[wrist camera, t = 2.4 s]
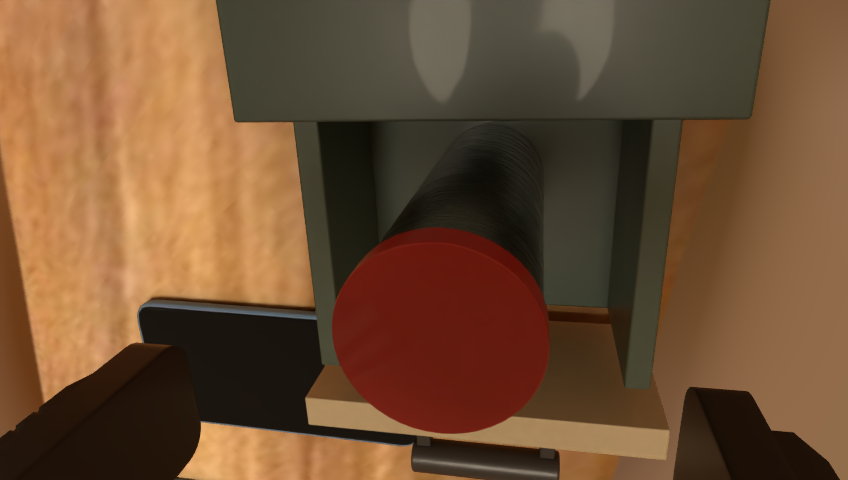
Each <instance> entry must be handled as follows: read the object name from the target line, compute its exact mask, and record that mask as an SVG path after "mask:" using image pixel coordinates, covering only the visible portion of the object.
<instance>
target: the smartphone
mask: <svg viewBox="0 0 848 480" xmlns="http://www.w3.org/2000/svg"><path fill="white" fill-rule="evenodd" d="M137 319H138V325H139V329H140V334H141V338H142V342H143V343H146V344H159V345H172V346H178V347H180V348H182V349H183V350H184V352H185V354H186V356H187V359H188V364H189V368H190V373H191V378H192V383H193V388H194V392H195V397H196V402H197V407H198V411H199V416H200V422H205V423H213V424H221V425H229V426H238V427H246V428H254V429H263V430H271V431H279V432H287V433H296V434H304V435H312V436H321V437H329V438H337V439H345V440H354V441H362V442H370V443H378V444H387V445H395V446H409V445H413V443H414V440H415V438H416V437H417V435H409V434H399V433H389V432H379V431H369V430H359V429H349V428H339V427H329V426H319V425H310V424H309V422H308V415H307V407H306V400H305V398H306V396H307V394H308V393H309V391H310V389H311V388H312V386H313V385H314V383H315V381H316V380H317V378H318V377H319V375H320V373H321V372H322V370H323V368H324V367H325V365H323V364H322V359H321V351H320V343H319V334H318V326H317V317H316V312H315V311H302V310H289V309H276V308H263V307H251V306H238V305H225V304H212V303H199V302H186V301H173V300H150V301H147V302H146V303H144V304H143V305H141V306H140V308H139V310H138V313H137Z"/></svg>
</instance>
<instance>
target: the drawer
mask: <svg viewBox="0 0 848 480" xmlns="http://www.w3.org/2000/svg"><path fill="white" fill-rule="evenodd" d="M682 123H683V120H556V121H393V122H293V124H294V132H295V140H296V149H297V157H298V166H299V174H300V183H301V191H302V199H303V208H304V216H305V225H306V233H307V242H308V250H309V258H310V267H311V275H312V284H313V292H314V300H315V309H316V317H317V326H318V334H319V343H320V351H321V359H322V364H323V365H325V367H324V368H323V370H322V372H321V373H320V375H319V377H318V378H317V380H316V381H315V383H314V385H313V386H312V388H311V389H310V391H309V393H308V394H307V396H306V398H305V400H306V407H307V415H308V422H309V424H310V425H319V426H329V427H339V428H349V429H359V430H369V431H379V432H389V433H399V434H409V435H417V437H416V438H415V440H414V443H413V447H412V455H411V466H412V470H413V471H414V472H421V473H430V474H439V475H448V476H457V477H466V478H475V479H484V480H559V471H560V458H559V452H558V451H555V449H560V450H570V451H580V452H590V453H600V454H610V455H620V456H630V457H640V458H650V459H661V460H666V456H667V449H668V442H669V434H670V429H669V426H668V423H667V419H666V416H665V413H664V409H663V406H662V403H661V399H660V396H659V393H658V390H657V386H656V383H655V380H654V376H653V373H652V369H653V361H654V353H655V345H656V337H657V328H658V320H659V312H660V304H661V296H662V287H663V279H664V271H665V263H666V254H667V246H668V238H669V230H670V222H671V213H672V205H673V197H674V189H675V181H676V172H677V164H678V156H679V148H680V140H681V131H682ZM484 124H499V125H504V126H507V127H510V128H513V129H515V130H517V131H519V132H520V133H522V134H523V135H525V136H526V137H527V138H528V139H529V140H530V141H531V142H532V143H533V144H534V146H535V147H536V149H537V150H538V152H539V155H540V157H541V160H542V163H543V169H544V301H545V304H546V305H564V306H583V307H602V308H607V309H608V313H609V318H610V323H611V324H596V323H579V322H562V321H549V345H550V352H549V360H548V365H547V369H546V372H545V376H544V378H543V380H542V382H541V384H540V387H539V388H538V390H537V391H536V393H535V394H534V396H533V397H532V398H531V399H530V401H529V402H528V403H527V404H526V405H525V406H524V407H523V408H522V409H521V410H519V411H518V412H517V413H516V414H515V415H513V416H512V417H510V418H508V419H507V420H505V421H504V422H502V423H499V424H497V425H495V426H493V427H490V428H487V429H483V430H480V431H475V432H470V433H461V434H441V433H433V432H427V431H423V430H419V429H415V428H412V427H409V426H407V425H404V424H401V423H399V422H397V421H395V420H393V419H391V418H389V417H388V416H386V415H385V414H383V413H381V412H380V411H378V410H377V409H376V408H374V407H373V406H372V405H371V404H369V403H368V402H367V401H366V400H365V399H364V398H363V397H362V396H361V395H360V394H359V393H358V392H357V391H356V389H355V388H354V387H353V386H352V384H351V383H350V382H349V380H348V378H347V377H346V375H345V374H344V372H343V370H342V368H341V366H340V364H339V361H338V359H337V355H336V352H335V349H334V344H333V338H332V317H333V310H334V306H335V303H336V299H337V297H338V295H339V292H340V290H341V288H342V287H343V285H344V283H345V282H346V280H347V279H348V277H349V276H350V274H351V273H352V272H353V270H354V269H355V268H356V266H357V265H358V264H359V263H360V261H361V260H362V259H363V258H364V257H365V256H366V254H368V253H369V252H370V251H371V250H372V249H373V248H375V247H376V246H377V245H378V244H379V243H380V242H381V240H382V239H383V237H384V236H385V235H386V233H387V232H388V230H389V229H390V228H391V226H392V225H393V223H394V222H395V221H396V219H397V218H398V216H399V215H400V214H401V212H402V211H403V209H404V208H405V207H406V205H407V204H408V202H409V201H410V200H411V198H412V197H413V195H414V194H415V193H416V191H417V190H418V188H419V187H420V186H421V184H422V183H423V181H424V180H425V179H426V177H427V176H428V174H429V173H430V172H431V170H432V169H433V167H434V166H435V165H436V163H437V162H438V160H439V159H440V158H441V156H442V155H443V153H444V152H445V151H446V149H447V148H448V146H449V145H450V144H451V143H452V141H453V140H454V139H455V138H456V137H457V136H459V135H460V134H461V133H463V132H464V131H466V130H468V129H470V128H473V127H476V126H479V125H484ZM433 437H439V438H449V439H459V440H469V441H479V442H489V443H499V444H509V445H520V446H530V447H539V449H535V448H525V447H515V446H505V445H495V444H485V443H475V442H465V441H455V440H445V439H435V438H433Z"/></svg>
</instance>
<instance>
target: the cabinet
mask: <svg viewBox="0 0 848 480" xmlns="http://www.w3.org/2000/svg"><path fill="white" fill-rule="evenodd" d="M770 1H771V0H216V4H217V11H218V17H219V23H220V30H221V36H222V43H223V49H224V56H225V62H226V69H227V75H228V82H229V88H230V94H231V101H232V107H233V114H234V120H235V122H393V121H556V120H720V119H749V118H751V116H752V110H753V104H754V98H755V92H756V86H757V80H758V74H759V68H760V62H761V56H762V49H763V43H764V37H765V31H766V25H767V19H768V13H769V7H770Z"/></svg>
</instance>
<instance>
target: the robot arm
mask: <svg viewBox="0 0 848 480" xmlns="http://www.w3.org/2000/svg"><path fill="white" fill-rule="evenodd" d="M200 432H201V422H200V416H199V411H198V407H197V402H196V397H195V392H194V388H193V383H192V378H191V373H190V368H189V364H188V359H187V356H186V354H185V352H184V350H183V349H182V348H180V347H178V346H172V345H159V344H146V343H133V344H131V345H129V346H127V347H126V348H124V349H123V350H122V351H121V352H119V353H118V354H117V355H116V356H114V357H113V358H112V359H111V360H109V361H108V362H107V363H105V364H104V365H103V366H102V367H100V368H99V369H98V370H97V371H95V372H94V373H93V374H91V375H89V376H87V377H85V378H83V379H81V380H79V381H77V382H75V383H73V384H71V385H69V386H67V387H65V388H64V389H63V390H61V391H60V392H59V393H58V394H56V395H55V396H54V397H52V398H51V399H50V400H48V401H47V402H46V403H45V404H43V405H42V406H41V407H40V408H39V411H38V413H37V412H33V413H32V414H30V415H29V416H28V417H27V418H25V419H24V420H23V421H21V422H20V423H19V424H18V425H16V429H15V430H14V431H11V430H10V431H8V432H7V433H6V434H5V435H3V436H2V437H1V438H0V480H175V479H176V477H177V476H178V475H179V474H180V472H181V471H182V470H183V469H184V467H185V466H186V465H187V464H188V462H189V461H190V460H191V458H192V457H193V455H194V453H195V451H196V449H197V446H198V443H199V439H200ZM673 480H840V479H839V478H838V476H837V474H836V473H835V471H834V470H833V468H832V467H831V465H830V463H829V462H828V461H827V460H826V459H825V458H823V457H822V456H821V455H820V454H818V453H817V452H816V451H815V450H814V449H812V448H811V447H810V446H809V445H808V444H807V443H805V442H804V441H803V440H802V439H801V438H799V437H798V436H797V435H796V434H795V433H793V432H782V431H771V429H770V427H769V426H768V424H767V422H766V420H765V418H764V417H763V415H762V413H761V411H760V409H759V407H758V406H757V404H756V402H755V400H754V398H753V397H752V395H751V394H750V393H749V392H747V391H737V390H723V389H710V388H698V387H690V388H689V389H688V390H687V392H686V395H685V400H684V406H683V413H682V420H681V427H680V434H679V441H678V448H677V454H676V461H675V468H674V476H673Z"/></svg>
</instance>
